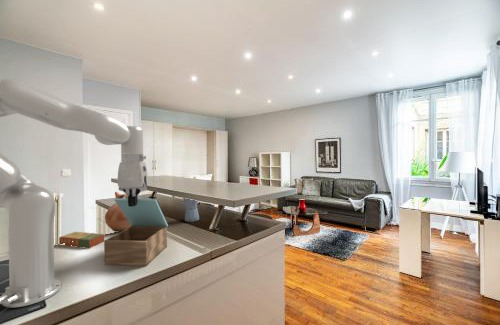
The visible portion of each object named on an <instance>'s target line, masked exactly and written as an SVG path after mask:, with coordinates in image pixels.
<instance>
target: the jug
mask: <svg viewBox="0 0 500 325" xmlns="http://www.w3.org/2000/svg"><path fill="white" fill-rule="evenodd" d="M114 197H115V198H124V197H125V198H126V199H128V196H126V193H123V194H121V193H119V192H118V191H115V192H114ZM104 220H105V223H106V225H107V227H109V229H110V230H112V231H113V232H115V233H120V232H121V231H123V230H125V229H127V228H129V227H131V225H130V223H129V222H128V220H127V219H126V217H125V215H124V214H123V212H122V211H121V209H120V208H119V206H118V204H117V203H116V202H115V203H114V204H112V205H111V206H110V207H109V208H108V209H107V211H106V212H105V214H104Z"/></svg>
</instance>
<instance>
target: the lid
mask: <svg viewBox="0 0 500 325" xmlns="http://www.w3.org/2000/svg"><path fill="white" fill-rule="evenodd" d="M114 201H115V203H117V204H118V206H119V208H120V209H121V211H122V212H123V214H124V215H125V217H126V219H127V220H128V222H129V223H130V225H131V226H152V227H167V228H168V226H169V224H168V222H167V220H166V218H165V215H164V214H163V210H162V209H161V207H160V205H159V202H158V200H157V199H156V198H138V203H137V205H136V206H133V207H129V206H128V199H127V198H126V197H125V198H124V197H123V198H116V197H115V198H114Z"/></svg>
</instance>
